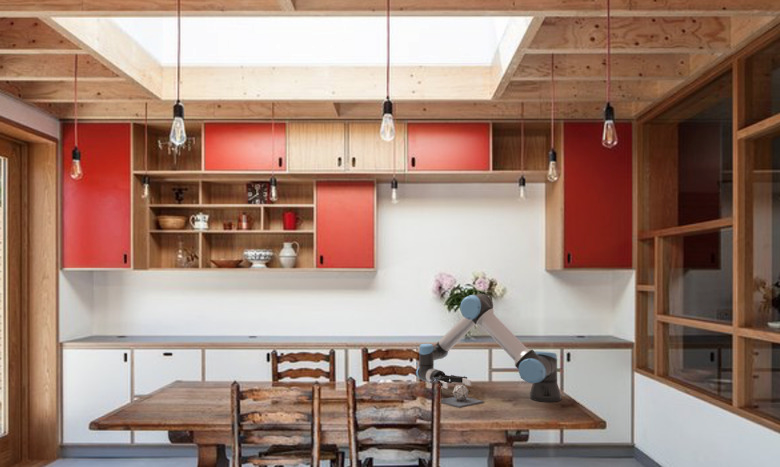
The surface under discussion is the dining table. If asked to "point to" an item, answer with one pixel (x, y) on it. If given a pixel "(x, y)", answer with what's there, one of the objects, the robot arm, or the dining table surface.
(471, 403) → the mat
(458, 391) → the game die
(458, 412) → the dining table surface
